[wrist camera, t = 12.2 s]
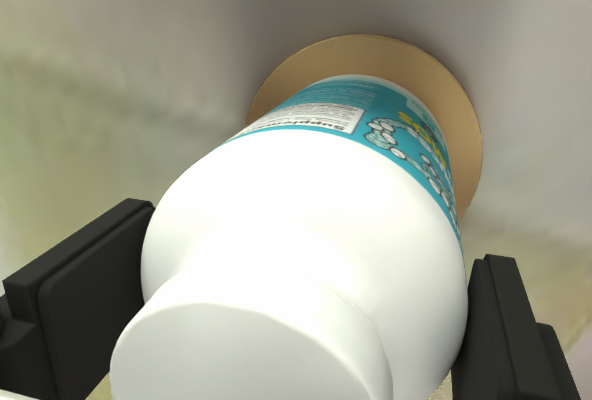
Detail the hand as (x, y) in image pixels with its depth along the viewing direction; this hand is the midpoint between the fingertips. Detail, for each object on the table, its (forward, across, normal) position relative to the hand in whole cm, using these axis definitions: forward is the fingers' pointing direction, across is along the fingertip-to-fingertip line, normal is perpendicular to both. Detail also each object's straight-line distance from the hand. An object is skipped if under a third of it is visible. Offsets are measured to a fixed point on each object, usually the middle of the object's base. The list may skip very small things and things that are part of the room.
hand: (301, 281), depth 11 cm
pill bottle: (+10, 0, 0) cm, 10 cm away
